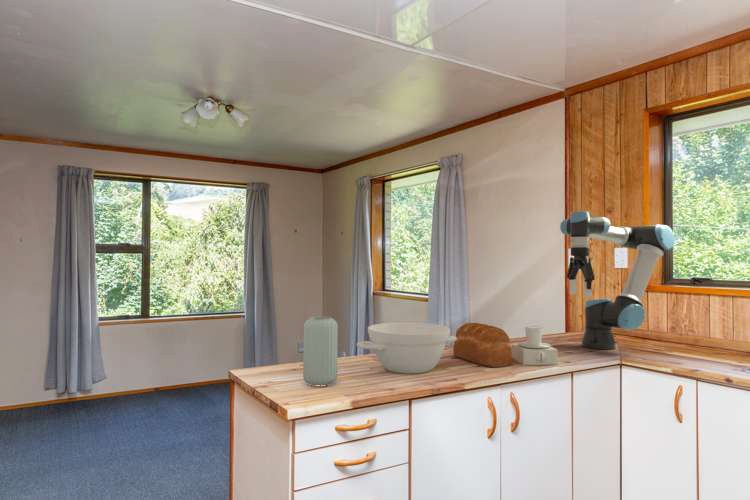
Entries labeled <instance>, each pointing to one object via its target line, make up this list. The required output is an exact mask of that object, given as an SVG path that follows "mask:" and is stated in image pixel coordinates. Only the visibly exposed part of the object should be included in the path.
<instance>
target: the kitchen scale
mask: <svg viewBox="0 0 750 500" xmlns="http://www.w3.org/2000/svg"><path fill="white" fill-rule="evenodd" d="M511 348H512V360H515V361H516V362H517V363H519V364H521V363H522V364H521V365H523V366H534V365H535V366H545V365H547V366H548V365H550V366H551V365H555V366H556V365H558V364H559V363H558V361H559V360H558V358H559V357H558V356H559V355H558V353H559V351H558V350H559V349H558V348H555V347H553V346H551V344H550V343H547V342H542V341H541V345H528V344H527V341H526V340H525V341H518V342H517V343H511Z"/></svg>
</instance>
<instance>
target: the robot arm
mask: <svg viewBox="0 0 750 500" xmlns="http://www.w3.org/2000/svg"><path fill="white" fill-rule="evenodd" d="M559 228H560V231H561V233H562V234H563V235H565V236H570V239H569V241H570V246H571V247H570V256H572V257H570V258H569V265H568V269H567V273H566V274H567V275H566V278H567V279H568V280H569V295H577V275H578V273H579V270H581V273H582V275H583V278H584V282H583V283H584V295H583V297H584V298H592V296H593V295H592V283H593V281H595V274H594V271H593V270H594V269H593V267H592V262H591V261H592V260H591V259H592V258H591V257H588V256H590V239H593V240H598V241H599V240H600V241H604V242H609V243H613V244H615V245H616V246H619V247H623V248H626V249H627V248H628V249H632V250H637V251H638V253H637V255H636V257H635V260H634V262H633V265H632V267H631V269H630V272H629V274H628V277H627V279H626V282H625V284H624V287H623V289H622V291H621V293H620V294H619V295H616V296H615V299H614V301H613V300H612V298H598V299H597V298H595V299H588V300H586V301H585V308H584V312H585V313H584V315H585V318H584V320H585V322H584V323H585V328H584V329H585V330H584V333H583V336H582V338H581V346H582V347H584V348H587V349H594V350H615V349H616V348H617V343H616V340H615V337H614V334H613V329H612V328H615V329H622V330H625V331H626V330H630V331H634V330H636V329H638V328H640V327H641V326H642V325H643V323H644V321H645V319H646V315H645V314H646V312H645V309H644V307H643V306H644V305H643V302H642V300H643V297H644V294H645V291H646V290H647V287H648V285H649V282H650V281H651V280H650V279H651V278H652V277H651V276H652V275H653V271H654V269H655V266H656V264H657V263H658V259H659V258H661V257H663V256H664V254H665V252H666V251H669V250H671V249H672V248H673V247H674V245H675V236H674V232H673V230H672V228H671V227H670V226H668V225H666V224H656V225H653V224H652V225H637V226H622V225H621V226H617V227H616V226H612V225H611V221H610V219H608V218H607V217H604V216H590V213H589V211H585V210H581V211H580V210H577V211H572V212H571V213H570V218H568V219H567V218H565V219H564V220H563V219H562V221H561V222H560V226H559Z"/></svg>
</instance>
